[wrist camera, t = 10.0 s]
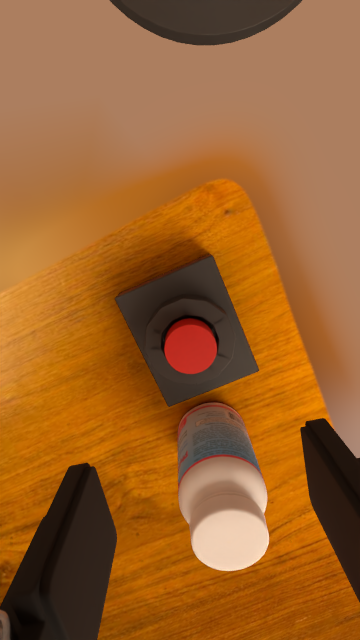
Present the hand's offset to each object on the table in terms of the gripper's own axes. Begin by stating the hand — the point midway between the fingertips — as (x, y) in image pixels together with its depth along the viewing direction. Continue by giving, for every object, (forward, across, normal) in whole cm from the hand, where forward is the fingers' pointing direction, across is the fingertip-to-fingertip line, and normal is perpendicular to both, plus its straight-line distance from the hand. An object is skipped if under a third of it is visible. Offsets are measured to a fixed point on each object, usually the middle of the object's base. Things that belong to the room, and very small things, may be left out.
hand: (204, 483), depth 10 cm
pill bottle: (+18, 0, +10) cm, 20 cm away
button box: (+18, 0, 0) cm, 18 cm away
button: (+14, 0, 0) cm, 14 cm away
